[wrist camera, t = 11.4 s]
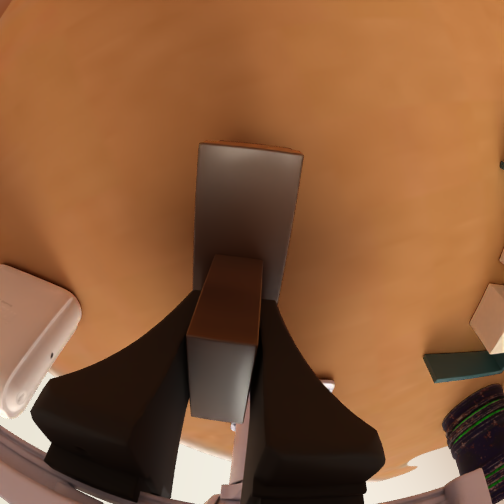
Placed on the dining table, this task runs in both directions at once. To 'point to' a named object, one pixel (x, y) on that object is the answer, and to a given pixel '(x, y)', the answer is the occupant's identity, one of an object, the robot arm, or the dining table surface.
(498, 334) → the beige cube
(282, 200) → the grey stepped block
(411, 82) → the dining table surface
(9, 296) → the photo printer
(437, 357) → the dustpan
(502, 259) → the cream white cube
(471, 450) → the storage jar
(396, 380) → the dining table surface
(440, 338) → the dining table surface
